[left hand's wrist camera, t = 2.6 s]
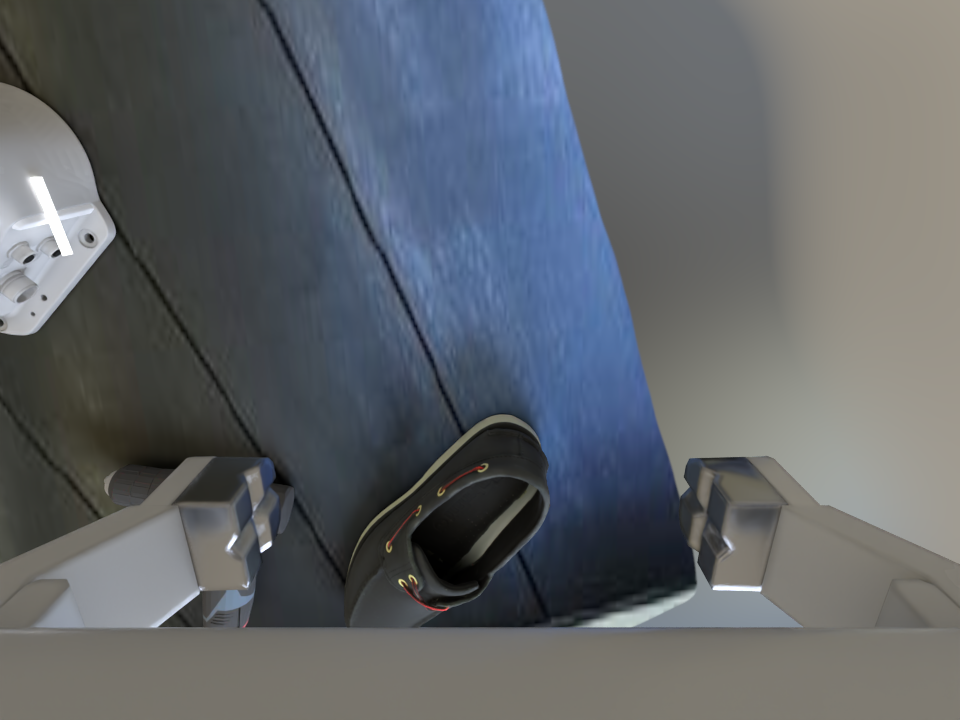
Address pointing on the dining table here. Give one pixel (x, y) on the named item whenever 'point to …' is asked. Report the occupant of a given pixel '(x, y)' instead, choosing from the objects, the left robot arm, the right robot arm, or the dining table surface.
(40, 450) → the dining table surface
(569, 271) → the dining table surface
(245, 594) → the power drill
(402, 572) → the boat shoe
